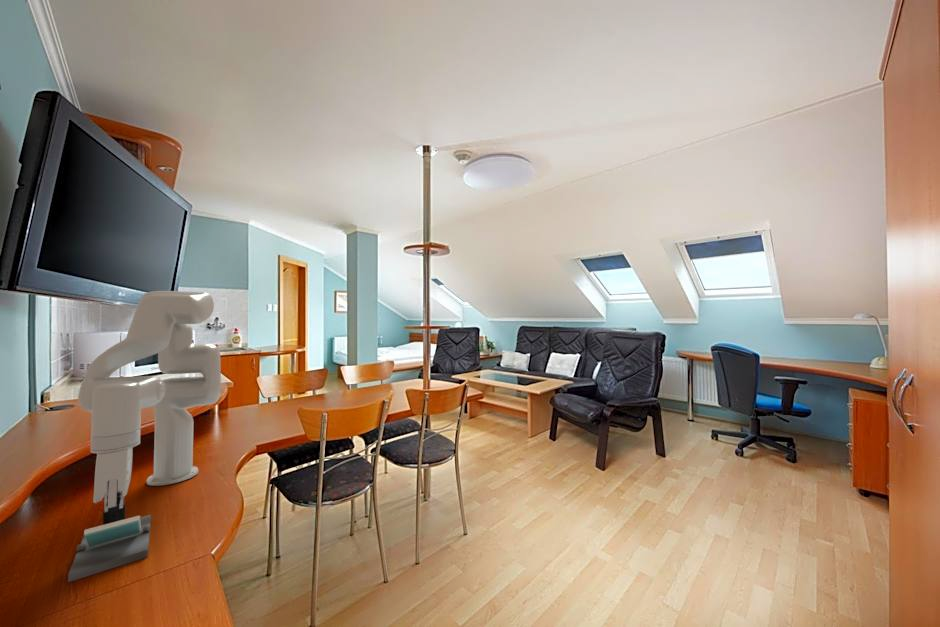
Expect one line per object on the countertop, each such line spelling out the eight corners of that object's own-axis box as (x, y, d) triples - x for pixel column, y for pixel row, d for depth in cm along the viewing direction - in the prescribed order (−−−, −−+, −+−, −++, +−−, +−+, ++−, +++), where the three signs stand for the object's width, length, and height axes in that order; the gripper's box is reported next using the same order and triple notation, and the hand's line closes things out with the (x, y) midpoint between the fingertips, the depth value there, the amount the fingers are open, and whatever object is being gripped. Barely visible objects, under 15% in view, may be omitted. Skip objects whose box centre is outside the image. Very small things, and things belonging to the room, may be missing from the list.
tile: (84, 529, 69) (83, 536, 69) (139, 515, 75) (139, 521, 74) (88, 541, 74) (87, 547, 73) (140, 527, 79) (140, 532, 78)
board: (84, 538, 79) (84, 526, 79) (151, 520, 86) (151, 509, 87) (67, 582, 66) (67, 567, 66) (148, 556, 73) (148, 543, 73)
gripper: (96, 435, 78) (94, 518, 78) (84, 454, 67) (81, 552, 66) (142, 428, 83) (140, 507, 83) (138, 445, 72) (135, 536, 71)
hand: (114, 526), depth 74 cm, fingers closed
